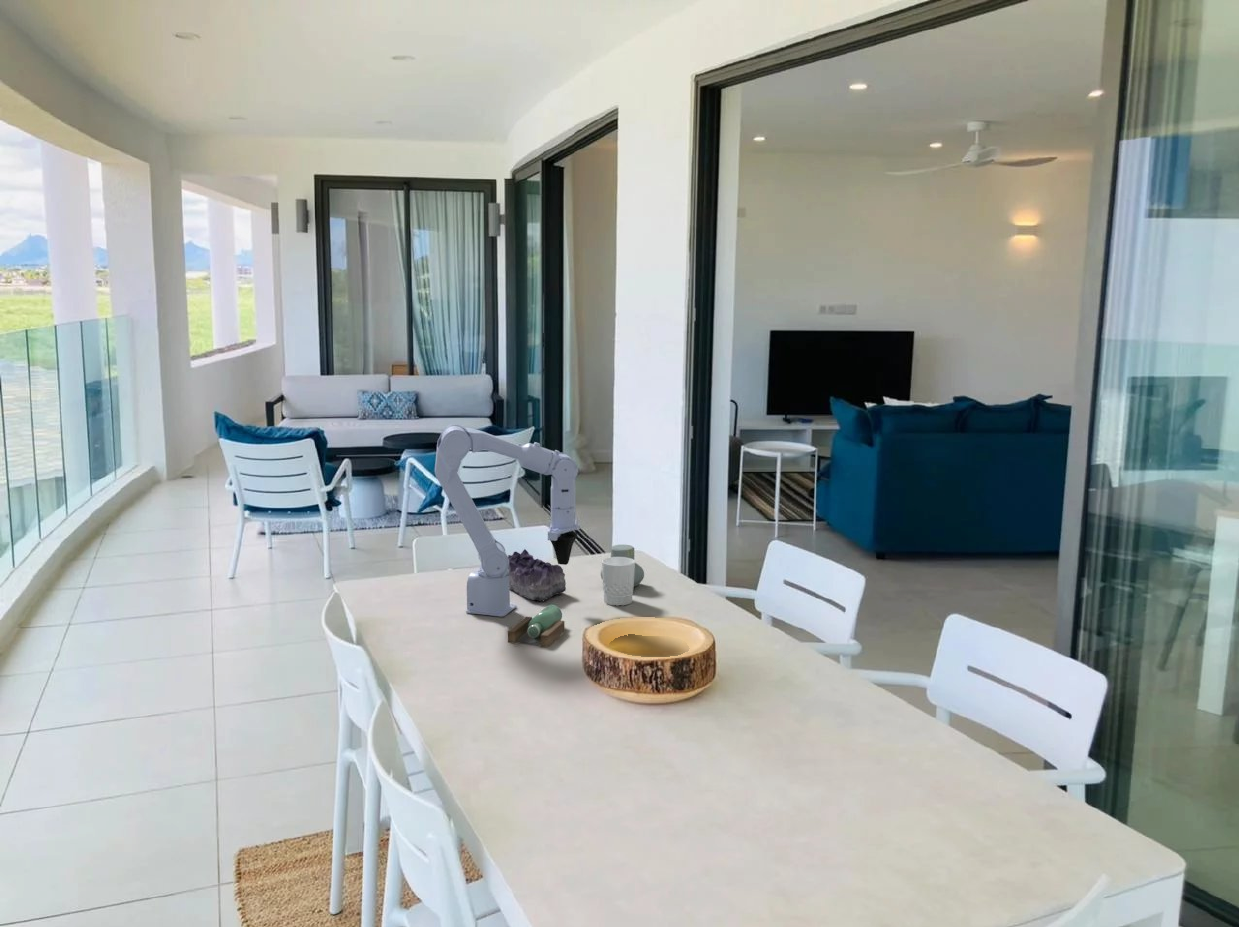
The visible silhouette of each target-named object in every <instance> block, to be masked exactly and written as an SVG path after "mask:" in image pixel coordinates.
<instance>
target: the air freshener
mask: <svg viewBox="0 0 1239 927" xmlns="http://www.w3.org/2000/svg"><path fill="white" fill-rule="evenodd" d="M610 557H626V558H631V559H633V560H635V547H634V546H632V545H630V544H615V545H613V546H611V548H610ZM600 578H601V580H602V581H603V576H602V569H601V570H600ZM644 578H645V571H644V569H643V567H642V566H641V565H640V564H639V563H636V562H635V572H634V587H635V586H638V585H639V584H640V583H641V582H643V580H644Z"/></svg>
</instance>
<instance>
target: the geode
mask: <svg viewBox="0 0 1239 927" xmlns="http://www.w3.org/2000/svg"><path fill="white" fill-rule="evenodd" d="M507 556H508V558H509V567H508V570H509V574H510V591H512V592H515V593H516V594H518V595H519V596H521V597H524V598H526V599H528V600H532V601H539V602H544V601H545V600H548V599H549V598H552V597H554V596H556V595H558V594H562V593H564V592H566V590H567V587H566V584H567V583H566V578H565V576H566V574H565V572H564V569H563V567H562V566H561V565H560V564H551V562H548V561H547V562H545V561H544V560H542V559H539V558H536V559H535V558H534V556H533V555H532V554H530V553H529V552H528V550H527V549H525V548H524V549H523V551H521V553H520V552H518V551H514V552H513V553H512V554H507Z"/></svg>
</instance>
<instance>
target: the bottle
mask: <svg viewBox="0 0 1239 927" xmlns="http://www.w3.org/2000/svg"><path fill="white" fill-rule="evenodd" d="M562 618H563V612H562V610H561V609H560V607H558V606H557V605H555V604H548V605H547V606H545V607H544V608H543V609H542V610H541V611H540V612H539V613H537V614H536V615H535V616H534V617H532V619H531V621H530V622H529V628H528V630H527V632H528V635H529V636H530V637H533V638H535V637H541V634H543V633H544V632H545V631H546V630H547V629H548V628H550V627H551V626H552V625H553V624H554V623H555V622H557V621H558V620H560V621H562Z"/></svg>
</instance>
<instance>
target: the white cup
mask: <svg viewBox="0 0 1239 927" xmlns="http://www.w3.org/2000/svg"><path fill="white" fill-rule="evenodd" d="M635 563H636V560H635V559H634V560H633V559H631V558H626V557H611V556H610V557H606V558H604V559H602V560H601V568H602V569H601V570H602V576H603V580H602V587H603V588H602V590H603V601H604V603H605V604H606V605H610V606H615V605H616V607H617V606H618V607H619V605H622V606H628V605H630V604H633V592H634V587H635V586H634V572H635Z"/></svg>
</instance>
